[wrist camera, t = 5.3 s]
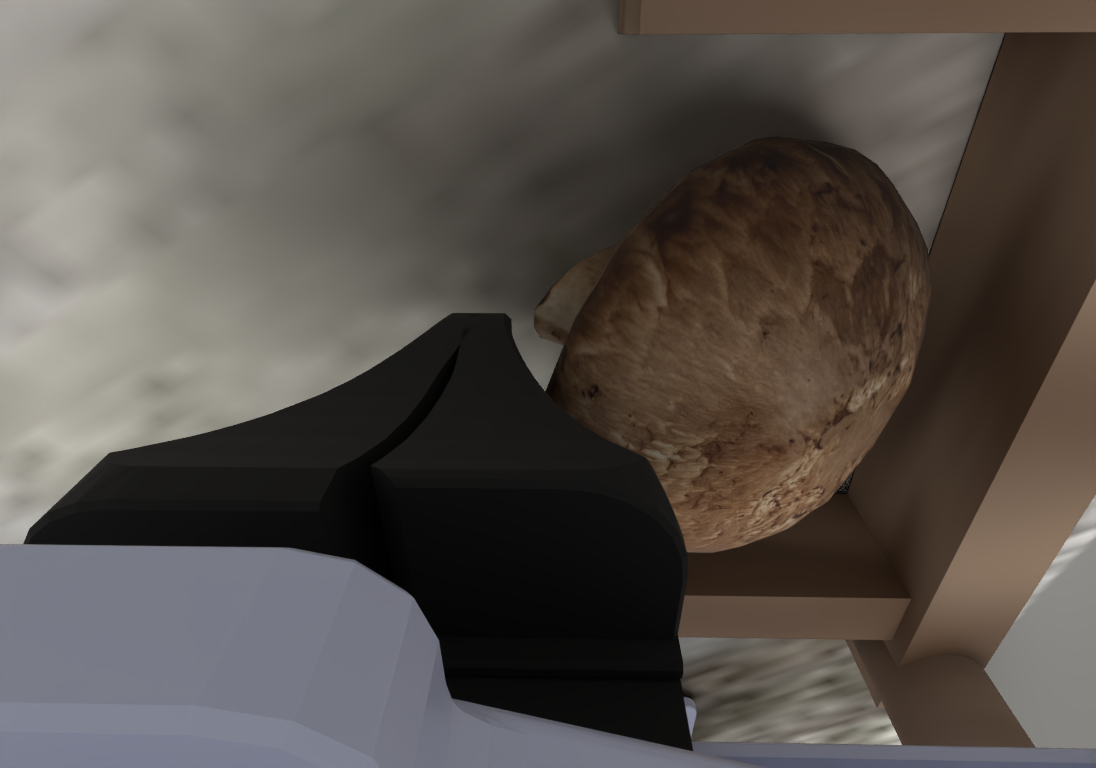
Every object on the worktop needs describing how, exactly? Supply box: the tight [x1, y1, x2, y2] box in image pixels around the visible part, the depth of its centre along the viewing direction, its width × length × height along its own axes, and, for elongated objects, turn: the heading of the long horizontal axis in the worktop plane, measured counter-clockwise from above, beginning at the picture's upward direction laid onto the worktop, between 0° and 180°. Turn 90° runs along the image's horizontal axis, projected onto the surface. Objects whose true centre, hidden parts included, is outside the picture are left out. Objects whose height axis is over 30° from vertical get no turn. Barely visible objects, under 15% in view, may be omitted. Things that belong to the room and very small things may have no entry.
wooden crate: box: [618, 0, 1096, 748], centre depth 11 cm, size 18×9×6 cm, turn 0°
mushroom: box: [534, 137, 932, 553], centre depth 11 cm, size 8×8×6 cm
